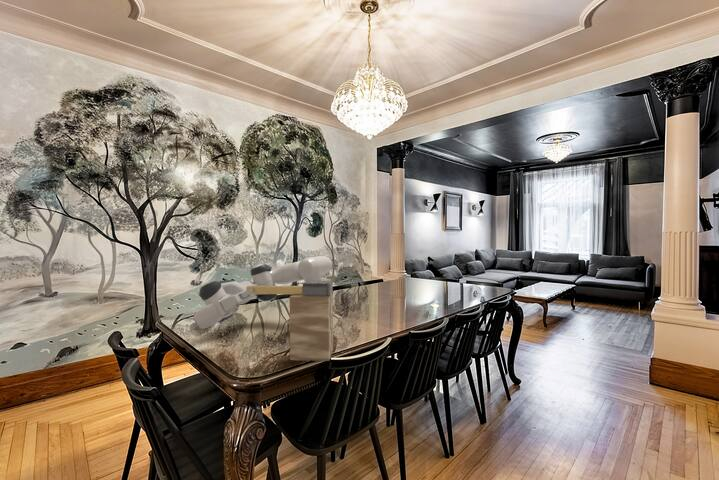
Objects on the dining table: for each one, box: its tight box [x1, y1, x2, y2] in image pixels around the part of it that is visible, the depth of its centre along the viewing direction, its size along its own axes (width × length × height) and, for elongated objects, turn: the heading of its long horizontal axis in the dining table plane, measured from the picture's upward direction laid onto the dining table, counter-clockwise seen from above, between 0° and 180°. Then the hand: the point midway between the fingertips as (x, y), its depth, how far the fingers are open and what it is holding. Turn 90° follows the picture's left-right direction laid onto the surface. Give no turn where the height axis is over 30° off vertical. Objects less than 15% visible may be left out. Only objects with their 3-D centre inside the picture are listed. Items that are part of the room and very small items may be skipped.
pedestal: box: [289, 293, 334, 362], centre depth 136 cm, size 12×16×26 cm
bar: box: [246, 285, 303, 295], centre depth 137 cm, size 3×24×3 cm, turn 86°
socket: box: [302, 280, 334, 296], centre depth 136 cm, size 8×11×5 cm
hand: (255, 288), depth 138 cm, fingers closed on bar, 3 cm apart
